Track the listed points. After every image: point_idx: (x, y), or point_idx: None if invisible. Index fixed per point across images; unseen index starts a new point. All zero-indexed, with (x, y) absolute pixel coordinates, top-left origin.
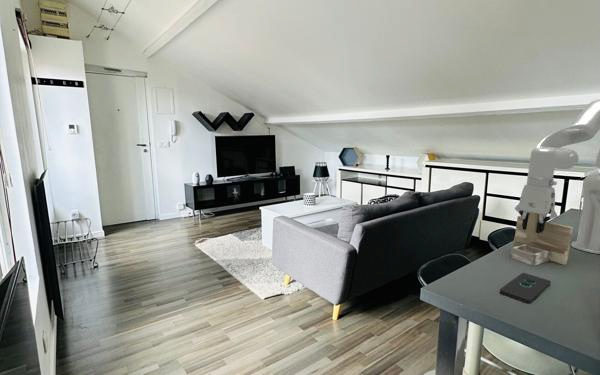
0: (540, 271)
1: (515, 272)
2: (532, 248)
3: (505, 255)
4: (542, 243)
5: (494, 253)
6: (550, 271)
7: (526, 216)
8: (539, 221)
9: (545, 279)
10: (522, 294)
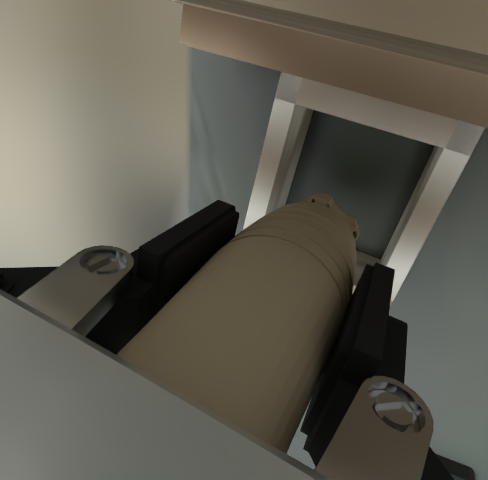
0: (429, 342)
1: None
2: (348, 118)
3: (236, 198)
4: (419, 66)
5: (191, 205)
6: (485, 315)
7: (107, 336)
8: (313, 443)
9: (452, 476)
10: None
